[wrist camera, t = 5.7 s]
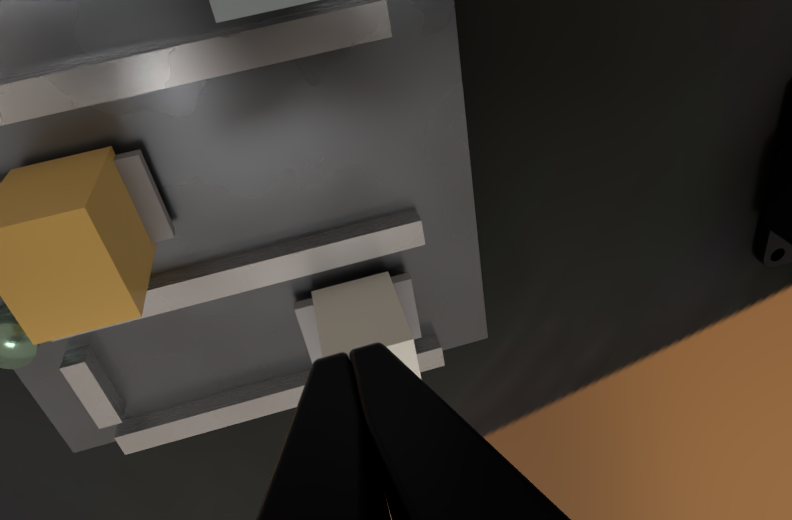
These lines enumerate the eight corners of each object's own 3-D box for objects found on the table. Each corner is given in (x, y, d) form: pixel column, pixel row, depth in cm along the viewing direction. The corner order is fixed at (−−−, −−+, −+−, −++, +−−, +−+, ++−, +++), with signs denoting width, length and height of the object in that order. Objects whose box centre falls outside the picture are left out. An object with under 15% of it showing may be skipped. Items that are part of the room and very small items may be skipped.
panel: (404, -276, 11) (441, -307, 9) (471, 307, 19) (500, 360, 17) (-293, -151, 10) (-426, -154, 8) (84, 412, 18) (65, 482, 16)
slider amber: (136, 140, 12) (115, 200, 10) (178, 238, 14) (168, 309, 12) (-15, 175, 12) (-71, 245, 10) (43, 271, 13) (5, 352, 11)
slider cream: (407, 265, 16) (435, 332, 13) (419, 335, 17) (447, 406, 15) (291, 296, 15) (300, 370, 13) (313, 365, 17) (326, 441, 14)
